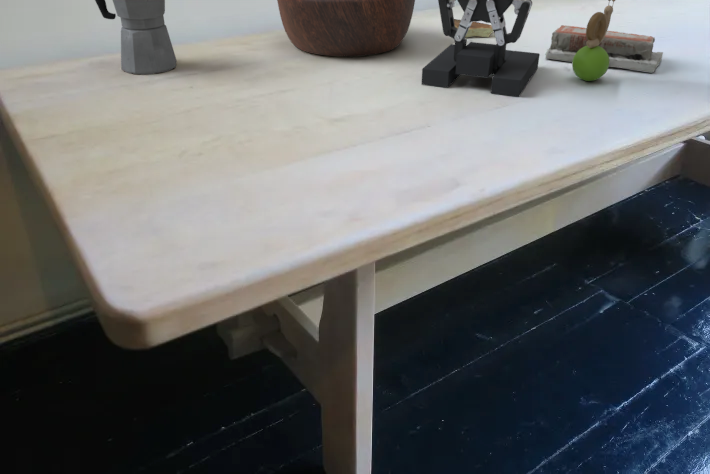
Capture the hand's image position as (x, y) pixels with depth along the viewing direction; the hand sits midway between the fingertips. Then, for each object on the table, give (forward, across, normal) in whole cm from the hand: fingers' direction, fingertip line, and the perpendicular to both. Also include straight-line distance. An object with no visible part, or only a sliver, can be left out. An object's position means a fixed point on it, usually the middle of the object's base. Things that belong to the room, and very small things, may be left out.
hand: (478, 66), depth 102 cm
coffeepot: (+3, -53, -14) cm, 55 cm away
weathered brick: (+3, +17, +21) cm, 27 cm away
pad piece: (0, 0, 0) cm, 0 cm away
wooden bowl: (+3, -28, +13) cm, 31 cm away
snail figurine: (+3, +16, +8) cm, 18 cm away
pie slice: (+3, -10, +30) cm, 32 cm away
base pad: (+2, 0, +3) cm, 4 cm away
